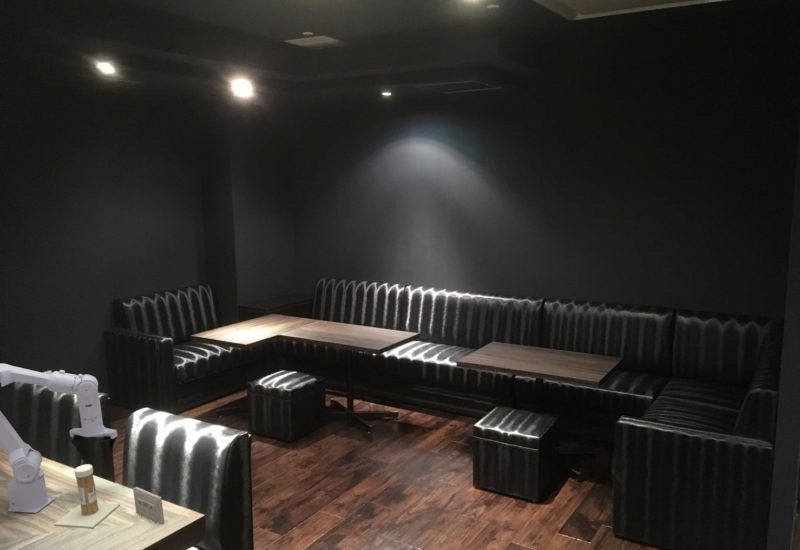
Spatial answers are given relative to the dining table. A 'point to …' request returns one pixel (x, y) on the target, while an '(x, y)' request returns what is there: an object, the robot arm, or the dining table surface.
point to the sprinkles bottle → (86, 489)
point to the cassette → (148, 505)
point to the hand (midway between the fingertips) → (97, 459)
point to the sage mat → (87, 516)
